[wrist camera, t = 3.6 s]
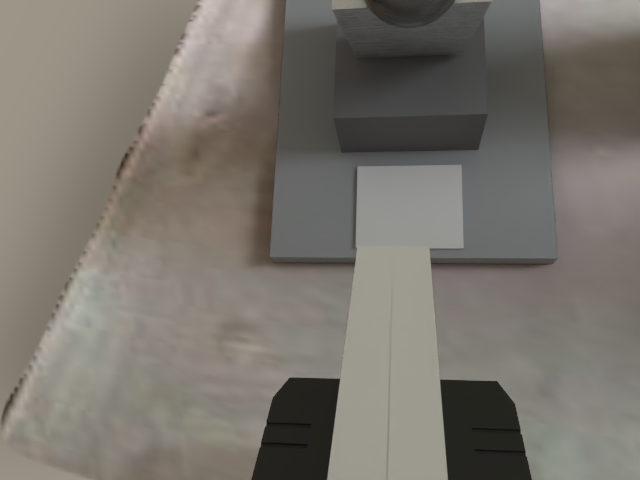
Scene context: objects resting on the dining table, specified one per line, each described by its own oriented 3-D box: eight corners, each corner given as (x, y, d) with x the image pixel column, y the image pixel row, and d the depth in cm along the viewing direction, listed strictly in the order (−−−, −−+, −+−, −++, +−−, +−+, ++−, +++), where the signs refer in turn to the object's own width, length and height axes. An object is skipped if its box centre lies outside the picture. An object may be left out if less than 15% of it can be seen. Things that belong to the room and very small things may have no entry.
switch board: (552, 263, 34) (582, 232, 29) (273, 262, 37) (248, 232, 31) (530, -60, 41) (551, -139, 35) (292, -44, 43) (275, -117, 37)
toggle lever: (462, 71, 32) (503, 10, 19) (356, 75, 33) (322, 20, 20) (463, 0, 32) (505, -115, 18) (356, 6, 33) (320, -100, 19)
